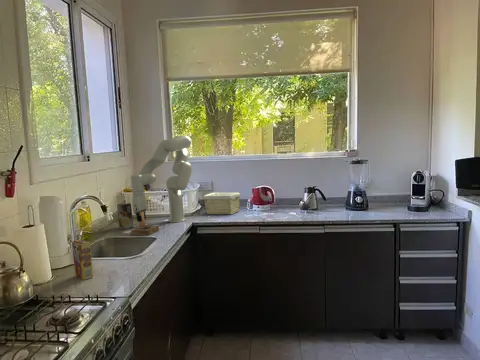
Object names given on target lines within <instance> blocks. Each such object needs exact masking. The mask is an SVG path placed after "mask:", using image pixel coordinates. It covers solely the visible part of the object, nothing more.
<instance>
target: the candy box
mask: <svg viewBox="0 0 480 360" xmlns="http://www.w3.org/2000/svg"><path fill="white" fill-rule="evenodd" d="M71 245H72V256H73V258H72V259H73V266H74V276H75V277H76V278H78V279H81V280H84V281H86V280H89V279H91V278H94V274H93V263H92V250H91V242H90V241H87V240H84V239H76V240H72V241H71Z"/></svg>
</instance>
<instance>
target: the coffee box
mask: <svg viewBox="0 0 480 360" xmlns="http://www.w3.org/2000/svg"><path fill="white" fill-rule="evenodd" d="M116 207H117V208H116V209H117V215H118V216H117V217H118V226H119V228H118V229H120V228H125V229H131V228H130V227H133V228H134V218H133V208H132V202H128V203H120V204H119V203H118V204H117V206H116Z"/></svg>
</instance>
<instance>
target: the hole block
mask: <svg viewBox="0 0 480 360" xmlns="http://www.w3.org/2000/svg"><path fill="white" fill-rule="evenodd" d="M130 231H131V236H151V235H153V234H155V233H157V232H159V231H160V227H159V225H145V226H141V227H139V226H138V227H136V228H134V229H133V228H132V229H131V230H130Z"/></svg>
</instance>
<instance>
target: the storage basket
mask: <svg viewBox="0 0 480 360" xmlns="http://www.w3.org/2000/svg"><path fill="white" fill-rule="evenodd" d="M240 196H241V193H240V192H210V193H207V194H204V196H203V200H204V204H205V205H204V206H205V212H206V214H207V215H233V214H235V213H238V212H239V211H240Z"/></svg>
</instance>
